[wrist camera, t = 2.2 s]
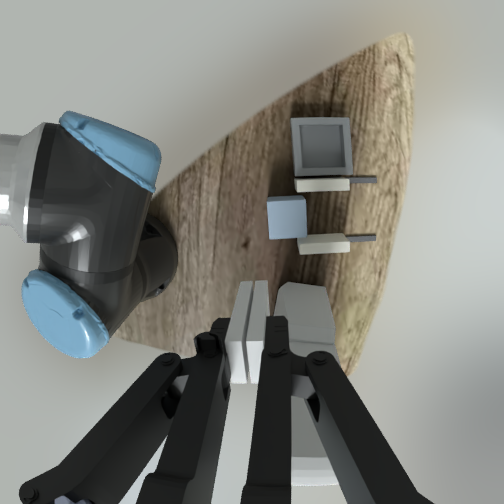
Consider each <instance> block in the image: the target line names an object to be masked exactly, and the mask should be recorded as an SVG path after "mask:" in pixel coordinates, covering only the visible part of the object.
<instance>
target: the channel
mask: <svg viewBox="0 0 504 504" xmlns="http://www.w3.org/2000/svg"><path fill="white" fill-rule="evenodd" d="M294 183H295V190H296V191H297V192H314V191H347V190H350V185H349V179H347V178H343V177H319V178H294ZM297 244H298V249H299V252H300V255H303V254H321V253H339V252H350V241H349V240H348V239H347V238H346V237H345V235H344V234H343V233H333V234H313V235H307V237H303V238H297Z"/></svg>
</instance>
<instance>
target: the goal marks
mask: <svg viewBox="0 0 504 504" xmlns="http://www.w3.org/2000/svg"><path fill="white" fill-rule="evenodd" d="M347 179H349V183H377V178H375V177H353V178H347ZM346 238H347V239H348V240H349V241H350V242H362V241H376V235H371V236H350V237H346Z"/></svg>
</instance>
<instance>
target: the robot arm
mask: <svg viewBox="0 0 504 504" xmlns="http://www.w3.org/2000/svg"><path fill="white" fill-rule="evenodd" d="M59 123H60V124H53V123H45V122H43V123H41V124H40V125H39V126H37V127H36V128H35V129H33V130H32V131H31V132H30V133H28V134H26V135H24V136H19V135H8V134H0V225H8V226H11V227H12V228H13V229H14V230H15V231H16V233H17V234H18V235H19V236H20V238H21V239H22V241H23V242H26V243H40V264H39V267H38V269H35V270H33V271H31V272H29V275H28V276H27V277H26V278H25V279H24V281H23V284H22V299H23V303H24V307H25V309H26V312H27V314H28V316H29V318H30V319H31V321H32V323H33V324H34V326H35V327H36V328H37V329H38V331H39V332H40V334H41V335H42V336H43V337H44V338H45V339H46V340H47V341H48V342H49V343H50V344H51V345H53V346H54V347H55V348H57V349H58V350H59V351H61V352H63V353H65V354H67V355H69V356H72V357H75V358H89V357H91V356H93V355H95V354H96V353H97V352H98V351H99V350H100V349H101V348H102V347H103V346H105V345H106V344H107V343H108V340H109V339H110V338H111V336H112V335H113V334H114V333H115V331H116V330H117V329H118V328H119V327H120V325H121V324H122V323H123V322H124V320H125V319H126V318H127V317H128V316H129V314H130V313H131V312H132V311H133V310H134V308H135V307H136V306H137V305H138V304H139V303H140V302H143V301H146V300H148V299H151V298H154V297H156V296H157V295H159V294H160V293H162V292H163V291H164V290H165V289H166V288H167V286H168V285H169V284H170V283H171V281H172V280H173V278H174V276H175V273H176V270H177V263H178V256H177V250H176V246H175V243H174V240H173V238H172V236H171V234H170V233H169V231H168V230H167V228H166V227H165V226H164V225H163V224H162V223H161V222H160V221H159V220H158V219H156V218H155V217H153V216H152V215H150V214H147V212H148V208H149V205H150V201H151V198H152V195H153V193H154V192H155V189H156V188H155V182H156V178H157V174H158V171H159V167H160V164H161V152H160V150H159V148H158V147H157V146H156V144H154V143H153V142H151V141H149V140H148V139H145V138H143V137H141V136H139V135H136V134H134V133H131V132H129V131H127V130H124V129H122V128H119V127H116V126H114V125H111V124H109V123H106V122H103V121H100V120H98V119H94V118H92V117H89V116H85V115H82V114H78V113H76V112H72V111H66V112H65V113H64V114H63V115H62V117H60V119H59ZM194 343H195V347H196V352H197V354H196V356H194V357H191V358H185V359H181V358H180V356H179V355H178V354H176V353H170V352H169V353H164V354H162V355H160V356H158V357H157V358H156V359H155V360H154V361H153V362H152V363H151V365H150V366H149V367H148V368H147V369H146V370H145V371H144V372H143V373H142V374H141V376H140V377H139V378H138V379H137V380H136V381H135V382H134V383H133V384H132V385H131V386H130V388H129V389H128V390H127V391H126V392H125V393H124V394H123V395H122V396H121V397H120V398H119V400H118V401H117V402H116V403H115V404H114V405H113V406H112V407H111V408H110V409H109V411H108V412H107V413H106V414H105V415H104V416H103V417H102V418H101V419H100V420H99V421H98V423H97V424H96V425H95V426H94V427H93V428H92V429H91V430H90V431H89V432H88V433H87V435H86V436H85V437H84V438H83V439H82V440H81V441H80V442H79V443H78V444H77V446H76V447H75V448H74V449H73V450H72V451H71V452H70V453H69V454H68V455H67V457H65V459H64V460H63V461H62V462H61V463H60V464H59V465H58V466H56V467H54V468H52V469H51V470H49V471H47V472H45V473H43V474H41V475H39V476H37V477H35V478H33V479H31V480H29V481H27V482H25V483H24V484H22V486H21V487H20V490H19V497H20V500H21V501H22V503H23V504H118V503H119V502H120V501H121V500H122V498H123V497H124V496H125V494H126V493H127V492H128V490H129V489H130V487H131V486H132V485H133V483H134V482H135V480H136V479H137V478H138V476H139V475H140V474H141V472H142V471H143V469H144V468H145V467H146V465H147V463H148V462H149V461H150V459H151V458H152V457H153V455H154V453H155V452H156V451H157V449H158V448H159V446H160V445H161V443H162V442H163V441H164V439H165V438H166V436H167V435H168V436H167V439H166V442H165V445H164V448H163V451H162V453H161V457H160V459H159V462H158V465H157V469H156V470H155V472H154V473H149V474H148V475H147V476H146V477H145V479H144V482H143V484H142V487H141V490H140V493H139V496H138V499H137V502H136V504H211V499H212V493H213V488H214V483H215V477H216V471H217V466H218V459H219V454H220V449H221V443H222V437H223V431H224V426H225V420H226V414H227V409H228V402H229V397H230V392H231V389H230V383H229V382H230V378H231V381H232V383H247V379H248V372H249V370H250V378H251V383H258V390H257V400H256V408H255V418H254V425H253V433H252V442H251V450H250V458H249V465H248V473H247V480H246V484H245V486H244V487H243V490H242V496H241V503H240V504H291V458H292V418H291V396H295V397H300V398H304V402H305V404H306V406H307V409H308V411H309V414H310V416H311V418H312V421H313V423H314V426H315V428H316V430H317V433H318V435H319V438H320V440H321V442H322V445H323V447H324V449H325V452H326V454H327V457H328V459H329V461H330V464H331V466H332V468H333V471H334V473H335V476H336V478H337V480H338V483H339V485H340V487H341V490H342V492H343V494H344V497H345V499H346V501H347V504H434V503H433V502H431V501H430V500H428V499H427V498H425V497H424V496H422V495H421V494H420V493H418V492H417V490H416V488H415V487H414V485H413V483H412V482H411V480H410V479H409V477H408V475H407V473H406V472H405V470H404V469H403V467H402V465H401V464H400V462H399V460H398V459H397V457H396V455H395V454H394V452H393V451H392V449H391V447H390V446H389V444H388V442H387V441H386V439H385V438H384V436H383V435H382V433H381V431H380V429H379V428H378V426H377V424H376V423H375V421H374V420H373V418H372V416H371V415H370V413H369V412H368V410H367V408H366V407H365V405H364V404H363V402H362V400H361V399H360V397H359V395H358V394H357V392H356V391H355V389H354V387H353V386H352V384H351V383H350V381H349V380H348V378H347V376H346V375H345V373H344V372H343V370H342V368H341V367H340V365H339V364H338V362H337V361H336V359H335V357H334V356H333V355H332V354H331V353H329V352H327V351H314V352H311V353H310V354H308V355H307V357H303V356H298V355H296V354H294V353H293V352H292V351H291V350H290V347H289V329H288V320H287V319H286V317H285V316H284V315H283V316H270V313H269V298H268V283H267V280H264V281H256V282H255V288H254V293H253V282H252V281H241V283H240V287H239V290H238V294H237V298H236V301H235V305H234V309H233V312H232V316H231V318H218V319H217V320H216V321H214V322H213V324H212V327H211V330H210V332H204V333H201V334H199V335H197V336H196V337H195V338H194Z"/></svg>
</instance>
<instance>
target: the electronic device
mask: <svg viewBox="0 0 504 504" xmlns="http://www.w3.org/2000/svg"><path fill="white" fill-rule="evenodd" d="M283 315H284V316H285V317H286V319H287V320H288V329H289V347H290V350H291V351H292V352H293V353H294V354H296V355H298V356H303V357H307V355H308V354H310V353H311V352H314V351H327V352H329V353H331V354H332V355H333V356H334V357H335V359H336V361H337V362H338V364H339V365H340V361H339V357H338V354H337V350H336V347H335V344H334V341H335V330H336V328H335V323H334V319H333V315H332V311H331V307H330V303H329V299H328V295H327V291H326V287H322V286H315V285H308V284H300V283H293V282H287V283H286V284H284V285H283V286H281V288H280V289H279V290H278V295H277V300H276V306H275V311H274V316H283ZM340 367H341V365H340ZM291 418H292V458H291V486H319V485H337V484H339V483H338V480H337V478H336V476H335V473H334V471H333V468H332V466H331V464H330V461H329V459H328V457H327V454H326V452H325V449H324V447H323V445H322V442H321V440H320V438H319V435H318V433H317V430H316V428H315V426H314V423H313V421H312V418H311V416H310V414H309V411H308V409H307V406H306V404H305V402H304V398H300V397H295V396H291Z"/></svg>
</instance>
